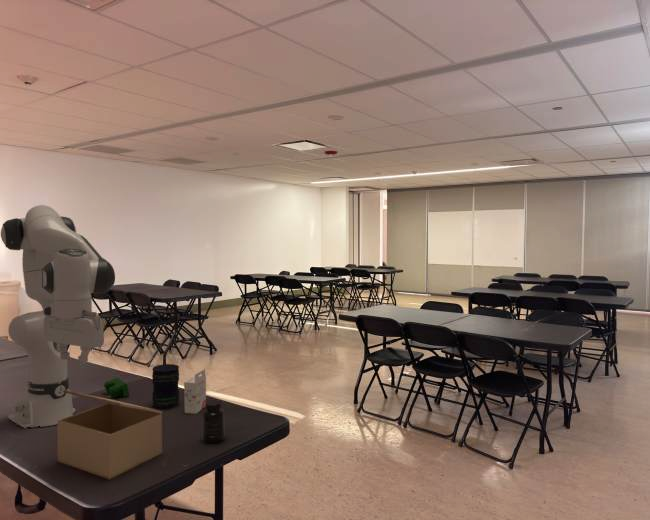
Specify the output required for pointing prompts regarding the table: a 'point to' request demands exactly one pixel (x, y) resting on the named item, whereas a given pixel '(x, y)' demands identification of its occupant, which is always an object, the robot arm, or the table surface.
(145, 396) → the table surface
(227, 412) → the table surface
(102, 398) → the flap
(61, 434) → the carton
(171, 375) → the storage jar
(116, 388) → the green bumpy lump
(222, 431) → the supplement bottle
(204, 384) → the ink cartridge box
